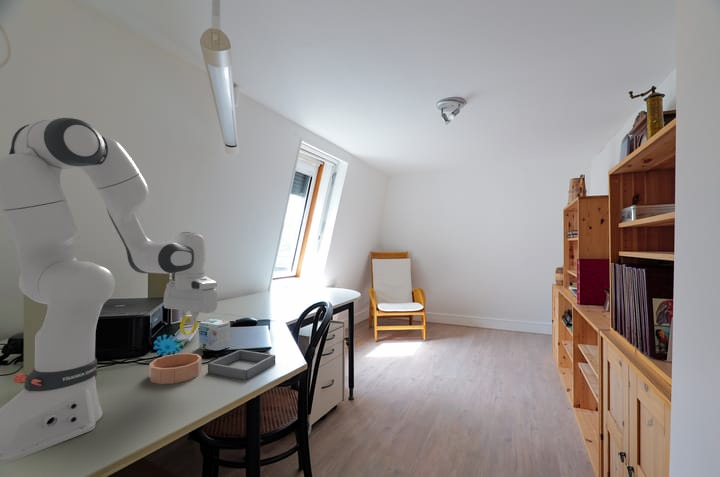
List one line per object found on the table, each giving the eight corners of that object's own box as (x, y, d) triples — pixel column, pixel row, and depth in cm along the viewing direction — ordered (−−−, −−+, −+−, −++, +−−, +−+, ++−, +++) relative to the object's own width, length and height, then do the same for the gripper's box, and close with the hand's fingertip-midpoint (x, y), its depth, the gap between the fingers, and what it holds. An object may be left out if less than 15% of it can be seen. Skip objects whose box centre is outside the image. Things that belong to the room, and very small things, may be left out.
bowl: (173, 386, 105) (173, 371, 105) (139, 379, 110) (139, 364, 110) (210, 369, 118) (210, 356, 118) (178, 363, 124) (178, 351, 124)
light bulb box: (198, 348, 141) (198, 321, 141) (211, 344, 147) (211, 318, 147) (217, 352, 136) (217, 324, 136) (230, 347, 142) (230, 321, 142)
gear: (158, 357, 125) (151, 334, 130) (151, 367, 127) (144, 344, 131) (188, 354, 134) (181, 332, 139) (181, 363, 136) (174, 341, 140)
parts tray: (246, 379, 110) (246, 370, 110) (207, 372, 116) (207, 363, 116) (275, 363, 125) (275, 355, 125) (239, 357, 131) (240, 349, 131)
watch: (192, 332, 118) (193, 314, 118) (198, 333, 117) (200, 314, 117) (177, 334, 112) (179, 316, 113) (183, 335, 111) (185, 316, 112)
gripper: (158, 280, 116) (157, 322, 116) (205, 284, 108) (204, 329, 108) (175, 279, 122) (174, 319, 122) (221, 282, 114) (219, 325, 114)
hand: (188, 324), depth 115 cm, fingers closed on watch
